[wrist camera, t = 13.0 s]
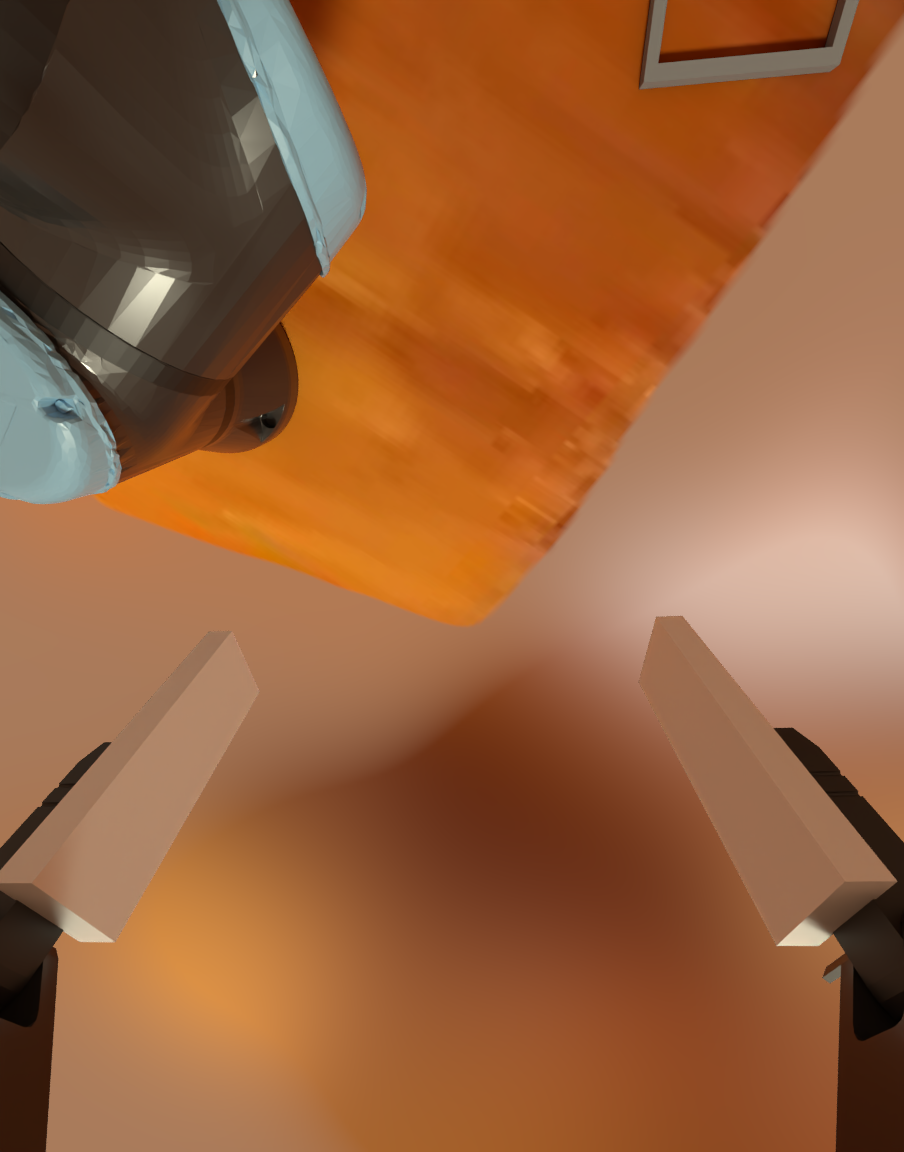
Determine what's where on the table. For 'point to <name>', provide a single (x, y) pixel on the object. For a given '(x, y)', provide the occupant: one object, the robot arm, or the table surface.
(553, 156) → the table surface
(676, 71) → the socket frame
